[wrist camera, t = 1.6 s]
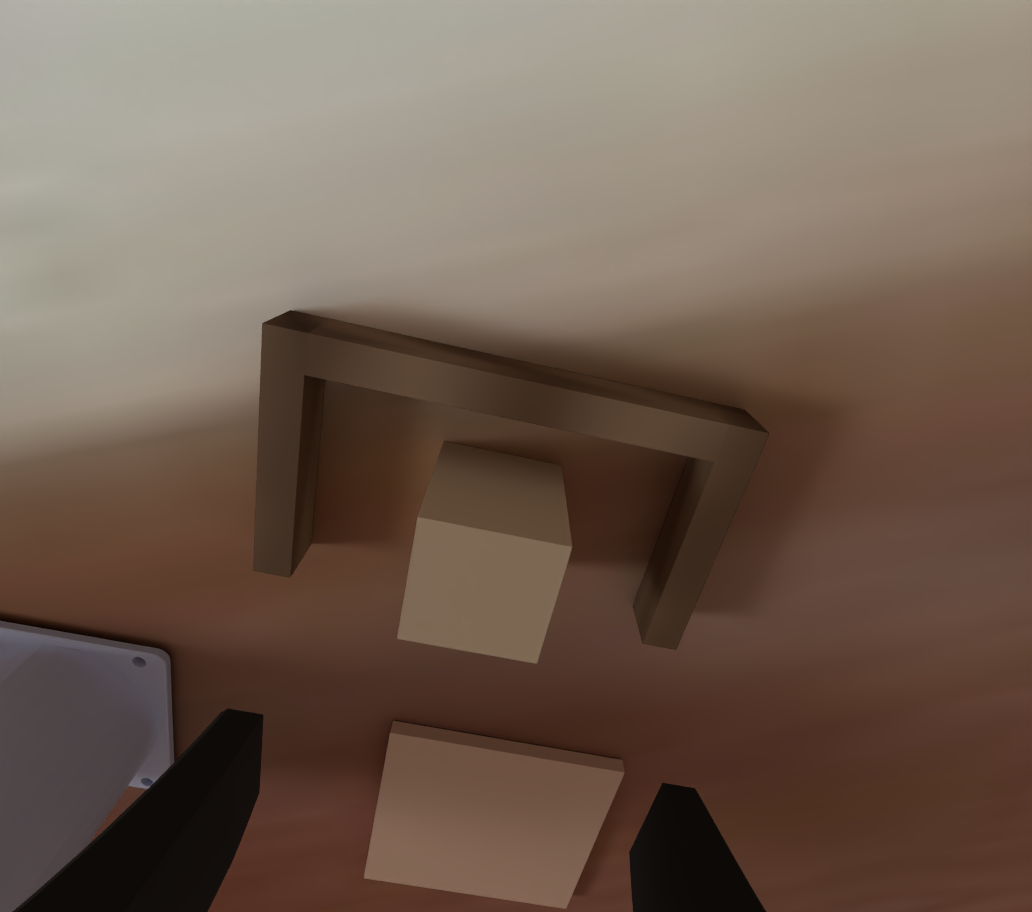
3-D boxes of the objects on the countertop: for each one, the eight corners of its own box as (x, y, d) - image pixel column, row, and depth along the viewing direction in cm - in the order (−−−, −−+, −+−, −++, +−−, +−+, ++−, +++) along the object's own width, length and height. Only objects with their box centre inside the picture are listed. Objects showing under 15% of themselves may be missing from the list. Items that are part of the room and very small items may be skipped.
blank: (425, 541, 21) (396, 638, 16) (443, 440, 19) (417, 516, 14) (534, 562, 21) (536, 663, 16) (561, 464, 19) (572, 547, 15)
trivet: (366, 865, 28) (363, 878, 28) (393, 720, 24) (390, 732, 24) (565, 895, 29) (565, 908, 28) (622, 759, 25) (624, 772, 24)
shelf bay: (277, 537, 20) (252, 571, 19) (290, 310, 17) (262, 323, 15) (663, 611, 22) (676, 649, 20) (745, 410, 18) (769, 433, 16)
